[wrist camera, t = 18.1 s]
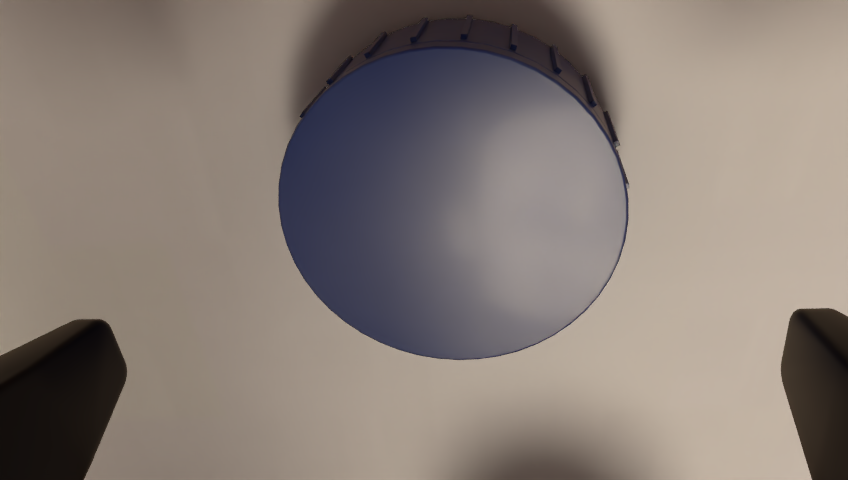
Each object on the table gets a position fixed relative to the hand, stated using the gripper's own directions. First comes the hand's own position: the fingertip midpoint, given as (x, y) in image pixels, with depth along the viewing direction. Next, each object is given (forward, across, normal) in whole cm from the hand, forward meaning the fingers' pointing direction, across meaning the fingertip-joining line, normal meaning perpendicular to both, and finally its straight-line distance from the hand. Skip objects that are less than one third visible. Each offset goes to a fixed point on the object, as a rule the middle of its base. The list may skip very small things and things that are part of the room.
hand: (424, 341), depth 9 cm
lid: (+4, 0, 0) cm, 4 cm away
